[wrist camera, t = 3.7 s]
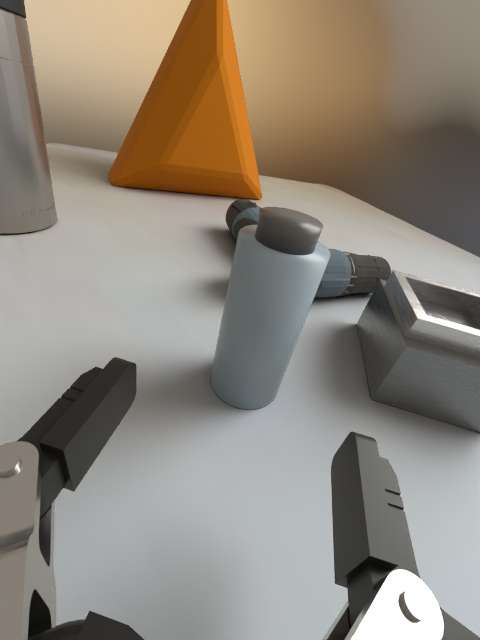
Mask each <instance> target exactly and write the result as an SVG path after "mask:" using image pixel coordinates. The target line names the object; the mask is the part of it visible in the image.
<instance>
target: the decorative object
mask: <svg viewBox="0 0 480 640" xmlns="http://www.w3.org/2000/svg"><path fill="white" fill-rule="evenodd" d="M108 175H109V178H110V180H111V183H112V185H114V186H120V187H130V188H141V189H152V190H162V191H173V192H184V193H194V194H205V195H216V196H227V197H237V198H248V199H259V200H260V199H261V198H262V193H261V188H260V182H259V176H258V171H257V166H256V160H255V154H254V149H253V143H252V138H251V132H250V127H249V121H248V115H247V110H246V104H245V99H244V93H243V88H242V82H241V76H240V71H239V65H238V60H237V54H236V49H235V43H234V37H233V32H232V26H231V21H230V15H229V10H228V4H227V0H191V1H190V4H189V6H188V8H187V10H186V12H185V14H184V16H183V18H182V20H181V22H180V25H179V27H178V29H177V31H176V33H175V35H174V37H173V40H172V41H171V44H170V46H169V48H168V50H167V52H166V54H165V56H164V58H163V61H162V63H161V65H160V67H159V69H158V71H157V73H156V75H155V77H154V80H153V82H152V84H151V86H150V88H149V90H148V92H147V94H146V96H145V99H144V100H143V103H142V105H141V107H140V109H139V111H138V113H137V115H136V118H135V119H134V122H133V124H132V126H131V128H130V130H129V132H128V134H127V136H126V138H125V141H124V143H123V145H122V147H121V149H120V151H119V153H118V155H117V157H116V159H115V162H114V164H113V166H112V168H111V170H110V172H109V174H108Z"/></svg>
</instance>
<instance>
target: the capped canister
mask: <svg viewBox="0 0 480 640" xmlns="http://www.w3.org/2000/svg"><path fill="white" fill-rule="evenodd" d="M322 227H323V225H322V223H321V222H320V221H319V220H317V219H315V218H313V217H311V216H309V215H307V214H304V213H301V212H298V211H294V210H290V209H286V208H279V207H265V208H262V209H261V210H260V215H259V219H258V223H257V225H249V226H245V227H243V228H241V229H240V230H239V233H238V239H237V244H236V249H235V254H234V259H233V264H232V269H231V274H230V280H229V285H228V290H227V295H226V300H225V305H224V310H223V316H222V321H221V326H220V331H219V336H218V341H217V346H216V351H215V357H214V362H213V367H212V372H211V385H212V388H213V390H214V392H215V393H216V394H217V395H218V397H219V398H221V399H222V400H223V401H224V402H226V403H227V404H229V405H231V406H234V407H237V408H241V409H250V410H251V409H259V408H262V407H264V406H266V405H268V404H269V403H271V402H272V401H273V399H274V398H275V396H276V393H277V391H278V388H279V386H280V383H281V381H282V378H283V376H284V373H285V371H286V368H287V365H288V363H289V360H290V358H291V355H292V353H293V350H294V348H295V345H296V342H297V340H298V337H299V335H300V332H301V330H302V327H303V325H304V322H305V319H306V317H307V314H308V312H309V309H310V307H311V304H312V302H313V299H314V296H315V294H316V291H317V289H318V286H319V284H320V281H321V279H322V276H323V274H324V271H325V268H326V266H327V263H328V261H329V258H330V251H329V250H328V249H327V247H326V246H325V245H323V244H322V243H321V242H319V241H318V239H319V236H320V233H321V230H322Z"/></svg>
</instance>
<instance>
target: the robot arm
mask: <svg viewBox="0 0 480 640" xmlns="http://www.w3.org/2000/svg"><path fill="white" fill-rule="evenodd" d="M25 18H26V13H25V6H24V0H0V233H25V232H32V231H38V230H42V229H45V228H48V227H50V226H52V225H53V224H55V223H56V221H57V215H56V208H55V202H54V195H53V188H52V181H51V174H50V168H49V161H48V155H47V148H46V142H45V135H44V129H43V122H42V116H41V109H40V103H39V96H38V89H37V83H36V76H35V70H34V65H33V58H32V51H31V45H30V38H29V32H28V25H27V21H26V20H25ZM135 395H136V364H135V363H133V362H129V361H126V360H123V359H120V358H117V357H115V358H113V359H112V360H111V361H110V362H109V363H108V364H107V365H106V366H105V367H104V369H101V368H98V367H95V368H93V369H91V370H89V371H88V372H86V373H84V374H82V375H81V376H80V377H79V378H78V379H77V380H76V381H75V382H74V383H73V384H72V385H71V387H70V389H68V390H67V391H66V392H65V393H64V394H63V395H62V397H61V398H59V399H58V400H57V401H56V402H55V403H54V404H53V405H52V406H51V408H50V409H49V410H48V411H47V412H46V413H45V414H44V415H43V416H42V417H41V418H40V419H39V420H38V421H37V422H36V423H35V424H34V425H33V427H32V428H31V429H30V430H29V431H28V432H27V433H26V434H25V435H24V436H23V437H22V438H20V439H19V440H18V441H16V442H11V443H7V444H4V445H2V446H0V640H144V639H143V638H142V637H141V636H140V635H138V634H137V633H136V632H135V631H134V630H133V629H132V628H131V627H130V626H129V625H126V624H123V623H121V622H118V621H115V620H113V619H110V618H107V617H105V616H102V615H99V614H97V613H94V612H91V611H89V613H88V615H87V617H86V620H76V621H71V622H67V623H64V624H61V625H58V626H56V586H55V578H54V567H53V559H54V506H55V501H54V500H55V499H56V497H57V496H58V494H59V493H60V491H61V490H62V489H63V488H66V489H69V490H72V491H75V489H76V488H77V486H78V485H79V483H80V482H81V480H82V479H83V477H84V476H85V474H86V473H87V471H88V470H89V468H90V467H91V465H92V464H93V462H94V461H95V459H96V458H97V456H98V455H99V453H100V452H101V450H102V449H103V447H104V446H105V444H106V443H107V441H108V440H109V438H110V437H111V435H112V434H113V432H114V431H115V429H116V428H117V426H118V425H119V423H120V422H121V420H122V419H123V417H124V416H125V414H126V413H127V411H128V410H129V408H130V407H131V405H132V403H133V401H134V398H135ZM331 485H332V513H333V542H334V570H335V584H337V585H340V586H343V587H346V588H348V602H347V603H346V604H345V605H344V607H343V609H342V610H341V612H340V613H339V615H338V616H337V618H336V619H335V621H334V623H333V624H332V626H331V627H330V629H329V630H328V632H327V633H326V635H325V636H324V638H323V640H480V637H478V636H477V635H476V634H474V633H473V632H471V631H470V630H469V629H467V628H466V627H465V626H463V625H462V624H461V623H459V622H458V621H457V620H455V619H454V618H452V617H451V616H450V615H448V614H447V613H446V612H445V611H444V610H443V609H441V608H440V607H439V605H438V603H437V601H436V599H435V597H434V596H433V594H432V592H431V591H430V590H429V588H428V587H427V586H426V585H425V584H424V582H423V581H422V580H421V578H420V576H419V573H418V569H417V566H416V561H415V557H414V552H413V548H412V543H411V539H410V534H409V530H408V525H407V520H406V516H405V512H404V511H403V508H404V507H403V502H402V498H401V497H400V494H401V493H400V489H399V484H398V480H397V476H396V474H395V472H394V471H393V469H392V467H391V465H390V463H389V462H388V460H387V459H384V458H381V457H379V453H378V447H377V443H376V440H375V439H374V438H371V437H368V436H365V435H361V434H358V433H355V432H350V433H349V435H348V436H347V438H346V439H345V440H344V442H343V443H342V445H341V446H340V448H339V449H338V451H337V452H336V454H335V455H334V458H333V461H332V466H331Z"/></svg>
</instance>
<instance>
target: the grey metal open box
mask: <svg viewBox="0 0 480 640" xmlns="http://www.w3.org/2000/svg"><path fill="white" fill-rule="evenodd" d="M357 327H358V332H359V338H360V343H361V348H362V354H363V359H364V365H365V370H366V375H367V381H368V386H369V391H370V397H371V400H375V401H378V402H381V403H385V404H388V405H391V406H394V407H398V408H401V409H404V410H407V411H411V412H414V413H417V414H421V415H424V416H427V417H430V418H434V419H437V420H440V421H443V422H447V423H450V424H453V425H456V426H460V427H463V428H466V429H470V430H473V431H476V432H479V433H480V294H479V293H476V292H472V291H468V290H465V289H461V288H457V287H454V286H450V285H446V284H443V283H439V282H435V281H432V280H428V279H424V278H421V277H417V276H413V275H410V274H406V273H402V272H399V271H395V270H393V271H392V273H391V275H390V277H389V279H388V281H385V280H381V279H380V280H379V282H378V284H377V286H376V288H375V290H374V292H373V294H372V296H371V298H370V300H369V302H368V303H367V305H366V307H365V309H364V311H363V313H362V315H361V317H360V319H359V321H358V323H357Z"/></svg>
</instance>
